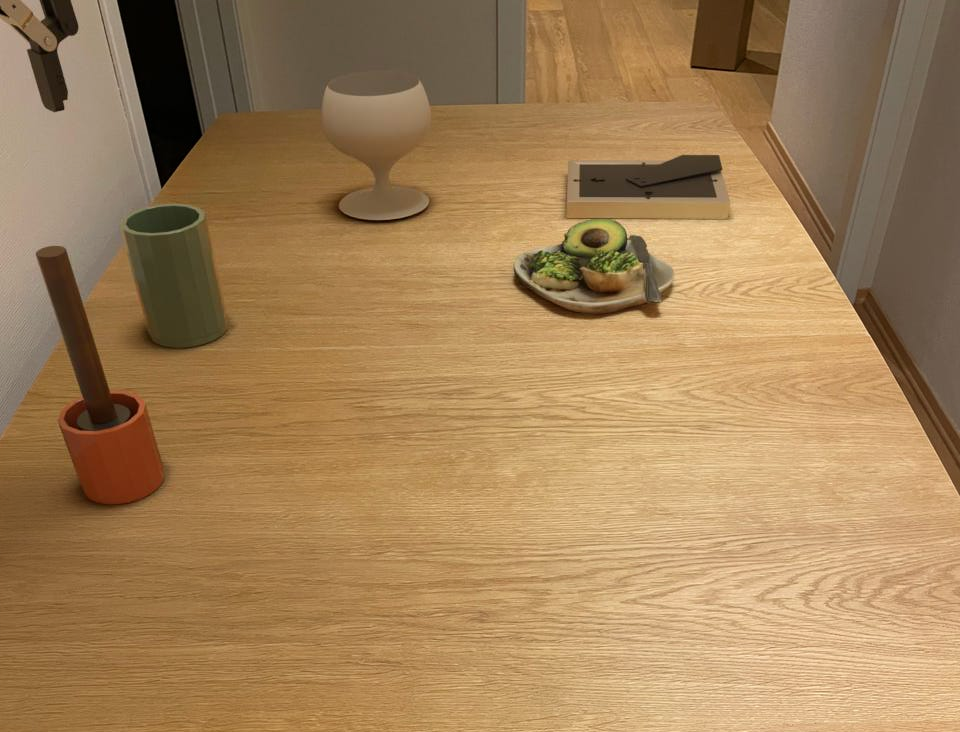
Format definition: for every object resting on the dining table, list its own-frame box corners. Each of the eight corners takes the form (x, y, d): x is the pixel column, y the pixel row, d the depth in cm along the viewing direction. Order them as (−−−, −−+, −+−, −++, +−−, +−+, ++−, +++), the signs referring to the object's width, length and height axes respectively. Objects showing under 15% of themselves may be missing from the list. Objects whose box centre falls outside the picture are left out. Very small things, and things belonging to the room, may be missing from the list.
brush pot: (76, 508, 86) (50, 437, 81) (90, 462, 91) (66, 393, 86) (159, 501, 87) (138, 430, 82) (168, 455, 92) (149, 386, 87)
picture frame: (716, 176, 141) (567, 175, 142) (719, 154, 139) (568, 154, 140) (727, 218, 129) (566, 218, 131) (731, 196, 128) (567, 195, 129)
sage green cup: (145, 351, 107) (114, 237, 99) (154, 315, 113) (126, 206, 105) (225, 344, 107) (201, 231, 99) (230, 310, 114) (207, 201, 105)
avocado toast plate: (717, 301, 112) (723, 260, 109) (578, 337, 107) (580, 295, 103) (624, 241, 125) (627, 203, 122) (496, 271, 119) (495, 231, 116)
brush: (93, 493, 87) (13, 265, 73) (101, 465, 90) (26, 241, 76) (144, 488, 87) (75, 261, 73) (150, 460, 90) (85, 237, 77)
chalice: (367, 234, 129) (354, 106, 118) (313, 203, 137) (297, 81, 127) (456, 208, 134) (451, 84, 124) (399, 180, 143) (390, 61, 133)
